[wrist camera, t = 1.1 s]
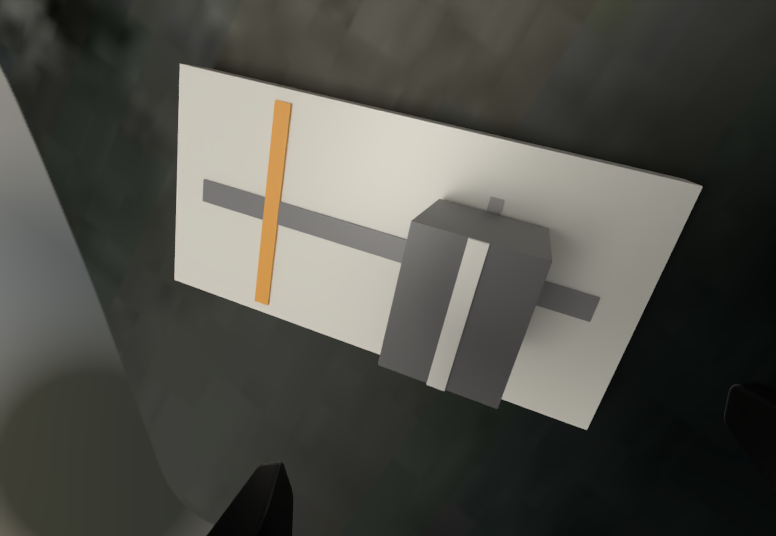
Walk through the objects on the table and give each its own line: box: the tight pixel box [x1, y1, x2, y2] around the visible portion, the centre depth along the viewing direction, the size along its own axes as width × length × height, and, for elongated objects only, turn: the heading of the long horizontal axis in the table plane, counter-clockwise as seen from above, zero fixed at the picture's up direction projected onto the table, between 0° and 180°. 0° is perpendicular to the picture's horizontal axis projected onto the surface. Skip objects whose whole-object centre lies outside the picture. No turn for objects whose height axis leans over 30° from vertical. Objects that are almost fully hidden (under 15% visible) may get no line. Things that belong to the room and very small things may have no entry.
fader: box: [378, 199, 552, 409], centre depth 15 cm, size 4×5×4 cm
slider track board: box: [175, 64, 703, 430], centre depth 19 cm, size 20×10×2 cm, turn 78°
